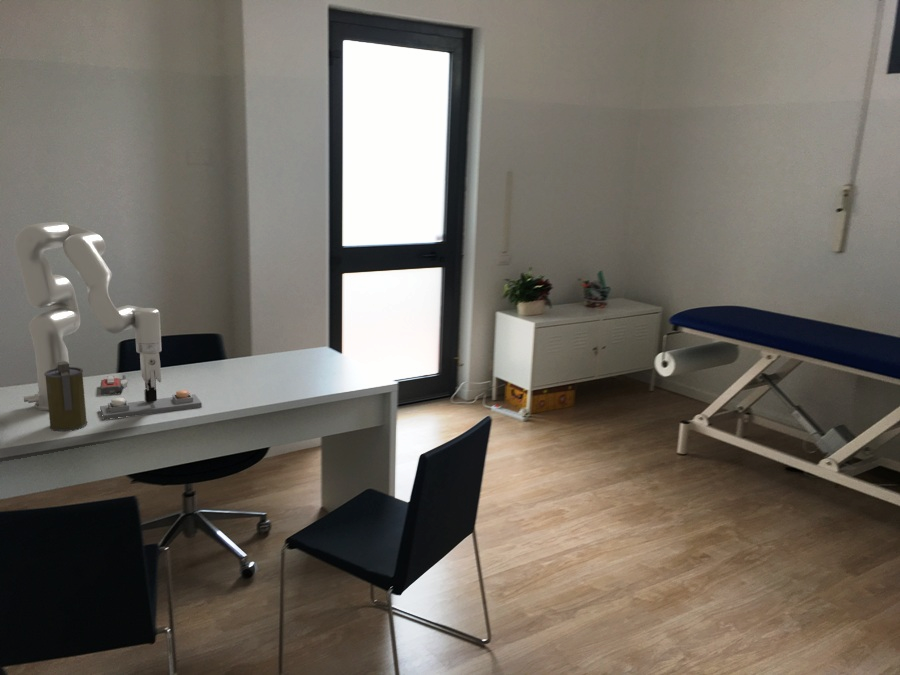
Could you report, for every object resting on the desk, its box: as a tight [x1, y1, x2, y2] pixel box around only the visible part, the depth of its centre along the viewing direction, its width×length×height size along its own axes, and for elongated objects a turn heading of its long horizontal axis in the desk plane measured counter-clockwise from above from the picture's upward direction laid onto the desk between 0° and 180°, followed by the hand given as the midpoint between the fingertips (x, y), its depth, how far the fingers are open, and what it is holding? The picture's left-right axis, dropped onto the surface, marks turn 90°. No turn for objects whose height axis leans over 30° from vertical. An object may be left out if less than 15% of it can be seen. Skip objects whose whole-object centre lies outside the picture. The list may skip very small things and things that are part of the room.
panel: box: [99, 392, 203, 420], centre depth 244 cm, size 30×10×3 cm, turn 121°
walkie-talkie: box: [100, 374, 129, 395], centre depth 265 cm, size 9×4×20 cm
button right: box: [175, 389, 190, 399], centre depth 248 cm, size 4×4×2 cm
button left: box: [110, 397, 126, 407], centre depth 238 cm, size 4×4×2 cm
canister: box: [44, 361, 88, 432], centre depth 224 cm, size 11×10×20 cm
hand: (151, 400), depth 241 cm, fingers closed
